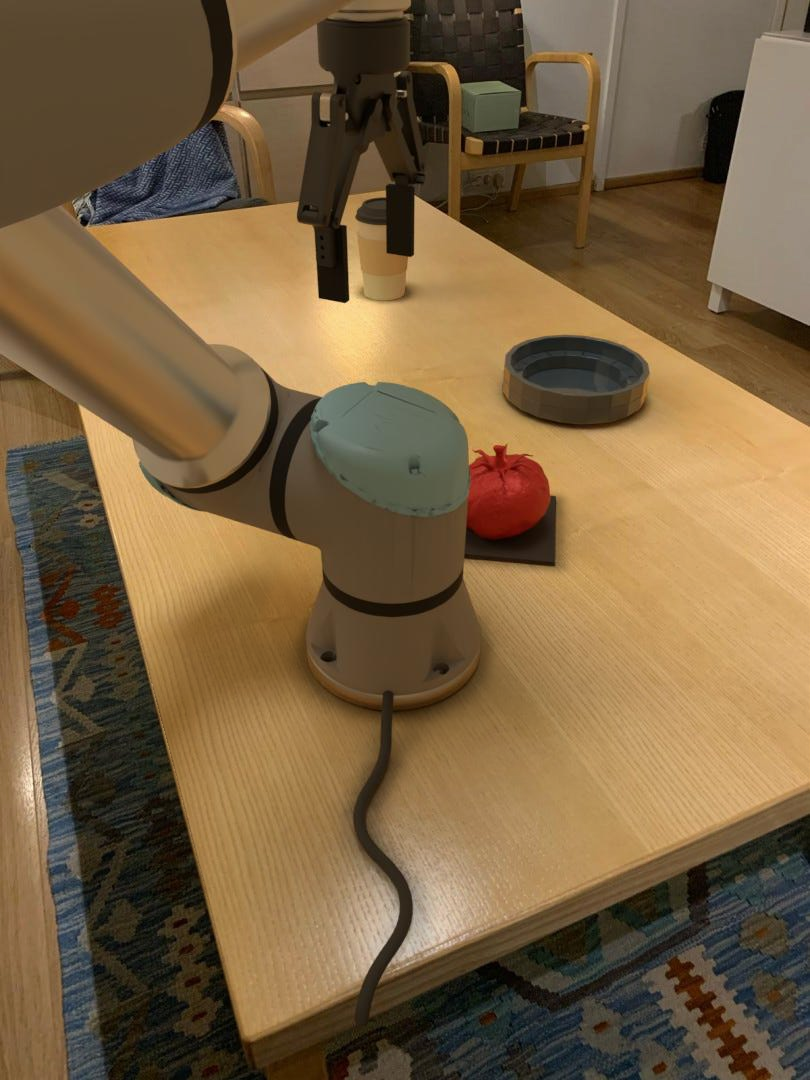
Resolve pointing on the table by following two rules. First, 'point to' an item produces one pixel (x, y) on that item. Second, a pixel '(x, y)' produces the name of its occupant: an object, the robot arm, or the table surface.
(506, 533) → the red tomato
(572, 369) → the bowl
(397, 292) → the coffee cup
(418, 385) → the table surface
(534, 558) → the mat
